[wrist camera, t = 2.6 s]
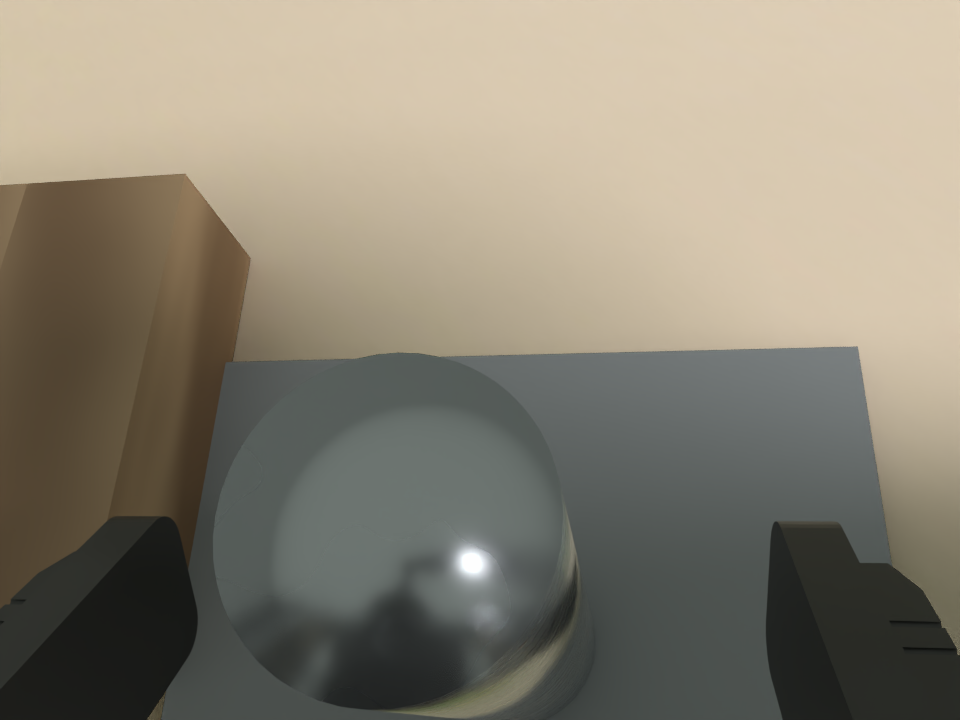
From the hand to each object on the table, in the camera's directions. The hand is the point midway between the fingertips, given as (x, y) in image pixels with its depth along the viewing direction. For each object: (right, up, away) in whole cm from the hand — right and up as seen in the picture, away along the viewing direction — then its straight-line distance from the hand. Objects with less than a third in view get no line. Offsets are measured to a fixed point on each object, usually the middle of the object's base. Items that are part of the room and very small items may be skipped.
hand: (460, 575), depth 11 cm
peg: (+1, -2, +5) cm, 6 cm away
